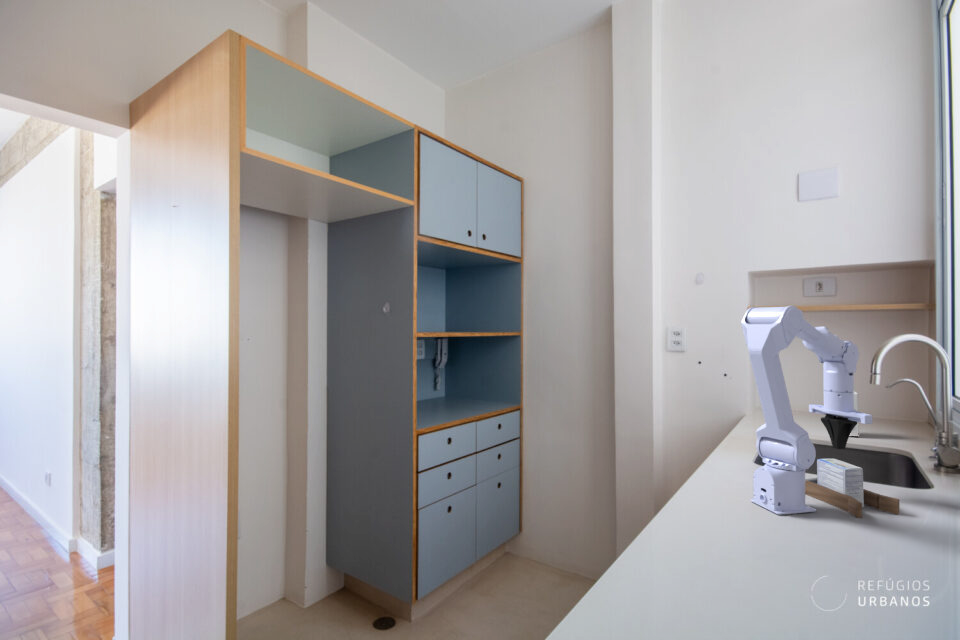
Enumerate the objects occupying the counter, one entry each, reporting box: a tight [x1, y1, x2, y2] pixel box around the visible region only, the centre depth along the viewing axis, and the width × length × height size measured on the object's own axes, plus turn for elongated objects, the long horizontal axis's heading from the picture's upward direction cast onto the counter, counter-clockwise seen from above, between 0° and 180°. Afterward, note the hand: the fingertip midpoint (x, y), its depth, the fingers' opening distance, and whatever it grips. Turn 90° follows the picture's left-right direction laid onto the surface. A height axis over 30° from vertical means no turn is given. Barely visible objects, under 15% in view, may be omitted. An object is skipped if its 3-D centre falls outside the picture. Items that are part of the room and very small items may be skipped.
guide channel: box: [805, 477, 901, 519], centre depth 105 cm, size 11×15×3 cm
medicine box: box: [816, 458, 865, 508], centre depth 105 cm, size 8×4×9 cm, turn 4°
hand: (839, 448), depth 111 cm, fingers closed
